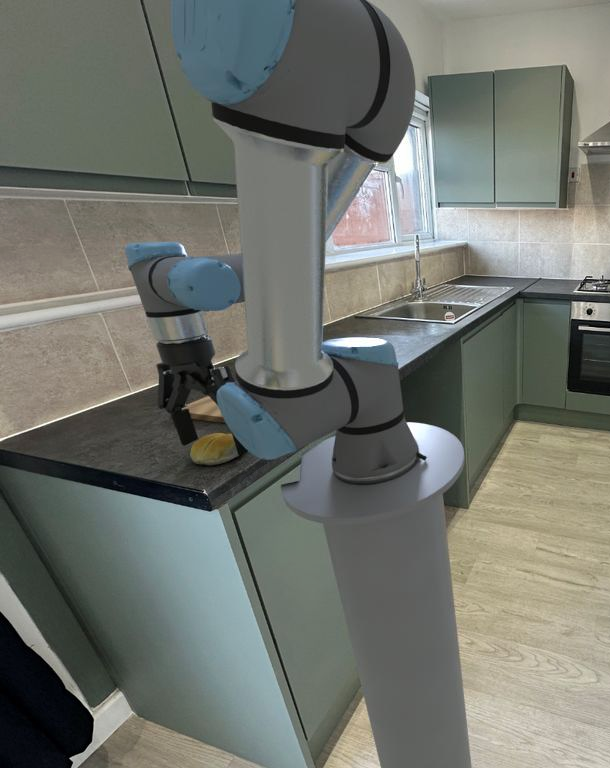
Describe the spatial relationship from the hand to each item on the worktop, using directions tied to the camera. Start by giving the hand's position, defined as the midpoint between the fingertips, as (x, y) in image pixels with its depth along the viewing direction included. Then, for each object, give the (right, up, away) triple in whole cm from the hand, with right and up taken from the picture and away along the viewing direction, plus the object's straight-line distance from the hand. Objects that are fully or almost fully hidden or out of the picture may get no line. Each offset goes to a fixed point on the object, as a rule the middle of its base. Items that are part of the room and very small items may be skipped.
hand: (217, 446), depth 78 cm
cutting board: (-11, +6, +21) cm, 24 cm away
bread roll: (0, -2, 0) cm, 2 cm away
